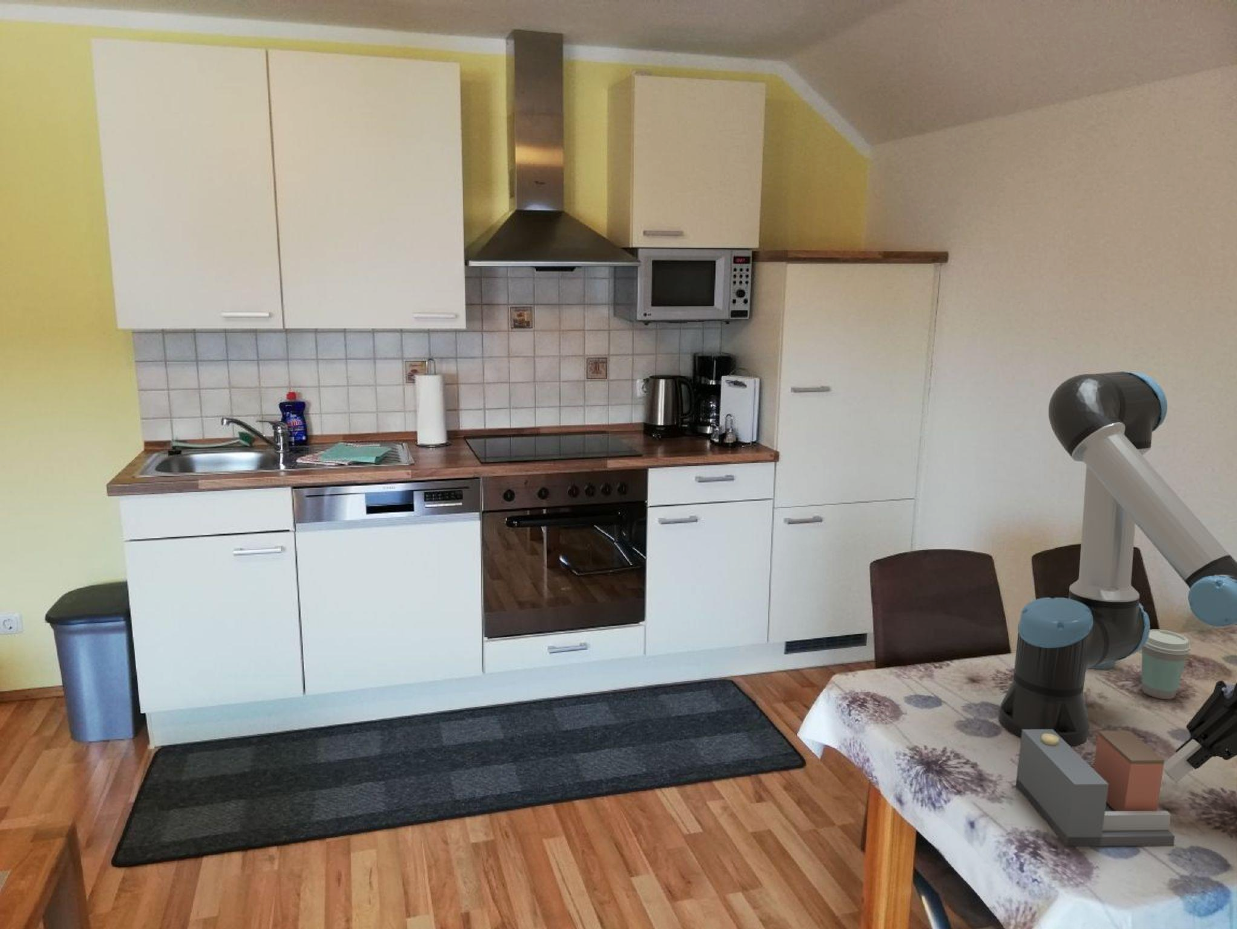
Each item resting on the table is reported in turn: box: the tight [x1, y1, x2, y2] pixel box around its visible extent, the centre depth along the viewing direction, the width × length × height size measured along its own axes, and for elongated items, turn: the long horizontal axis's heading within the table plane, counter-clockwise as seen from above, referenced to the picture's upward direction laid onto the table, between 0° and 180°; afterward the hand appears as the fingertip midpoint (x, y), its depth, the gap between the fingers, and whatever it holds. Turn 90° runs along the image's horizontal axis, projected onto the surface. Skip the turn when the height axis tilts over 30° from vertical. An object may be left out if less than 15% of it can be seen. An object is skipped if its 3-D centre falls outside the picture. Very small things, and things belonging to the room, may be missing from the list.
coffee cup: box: [1141, 629, 1191, 700], centre depth 181 cm, size 8×8×12 cm
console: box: [1015, 729, 1176, 847], centre depth 139 cm, size 16×16×11 cm
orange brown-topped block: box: [1092, 730, 1165, 811], centre depth 139 cm, size 5×9×10 cm, turn 2°
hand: (1168, 774), depth 139 cm, fingers closed
